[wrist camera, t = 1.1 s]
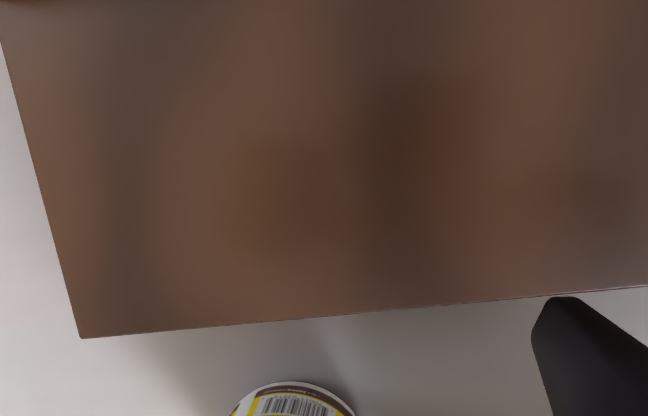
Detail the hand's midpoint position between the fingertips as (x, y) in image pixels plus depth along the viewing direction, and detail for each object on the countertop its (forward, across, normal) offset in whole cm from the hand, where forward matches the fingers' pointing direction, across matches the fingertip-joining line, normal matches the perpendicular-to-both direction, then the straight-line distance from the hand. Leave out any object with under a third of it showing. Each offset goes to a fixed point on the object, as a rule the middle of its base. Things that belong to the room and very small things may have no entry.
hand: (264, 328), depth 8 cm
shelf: (+10, -6, +1) cm, 12 cm away
